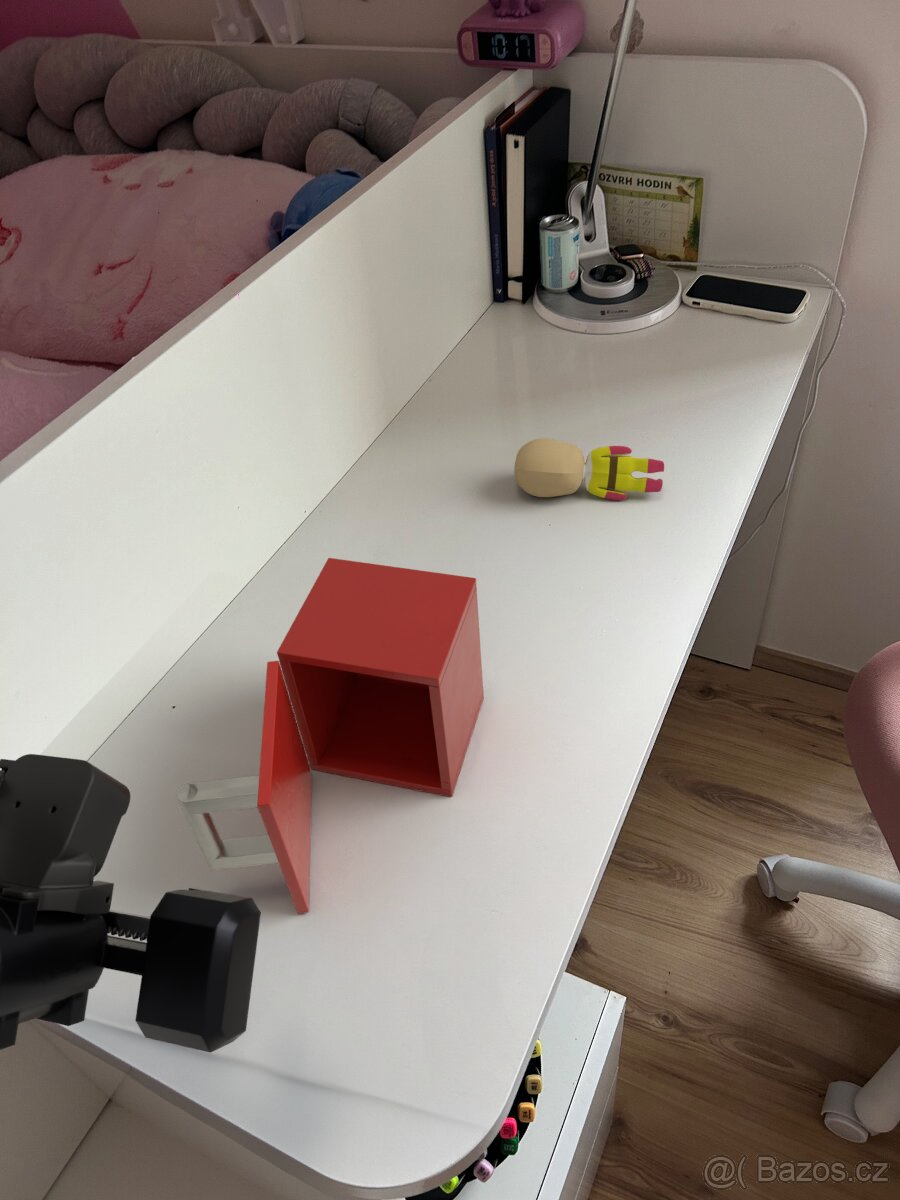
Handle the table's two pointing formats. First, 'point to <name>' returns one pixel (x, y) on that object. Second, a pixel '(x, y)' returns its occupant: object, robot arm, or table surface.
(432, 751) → the cabinet
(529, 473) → the toy
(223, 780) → the red cabinet door
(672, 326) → the table surface
